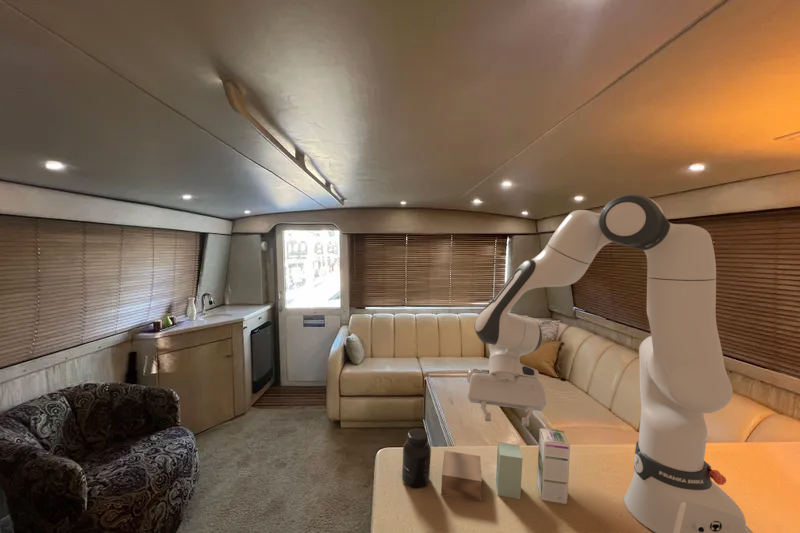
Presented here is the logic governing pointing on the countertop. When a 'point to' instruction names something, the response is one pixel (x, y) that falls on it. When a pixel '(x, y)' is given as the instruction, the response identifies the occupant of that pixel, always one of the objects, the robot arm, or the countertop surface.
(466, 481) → the block
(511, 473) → the sage block
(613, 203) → the robot arm
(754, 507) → the countertop surface
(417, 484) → the supplement bottle
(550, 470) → the syrup box
